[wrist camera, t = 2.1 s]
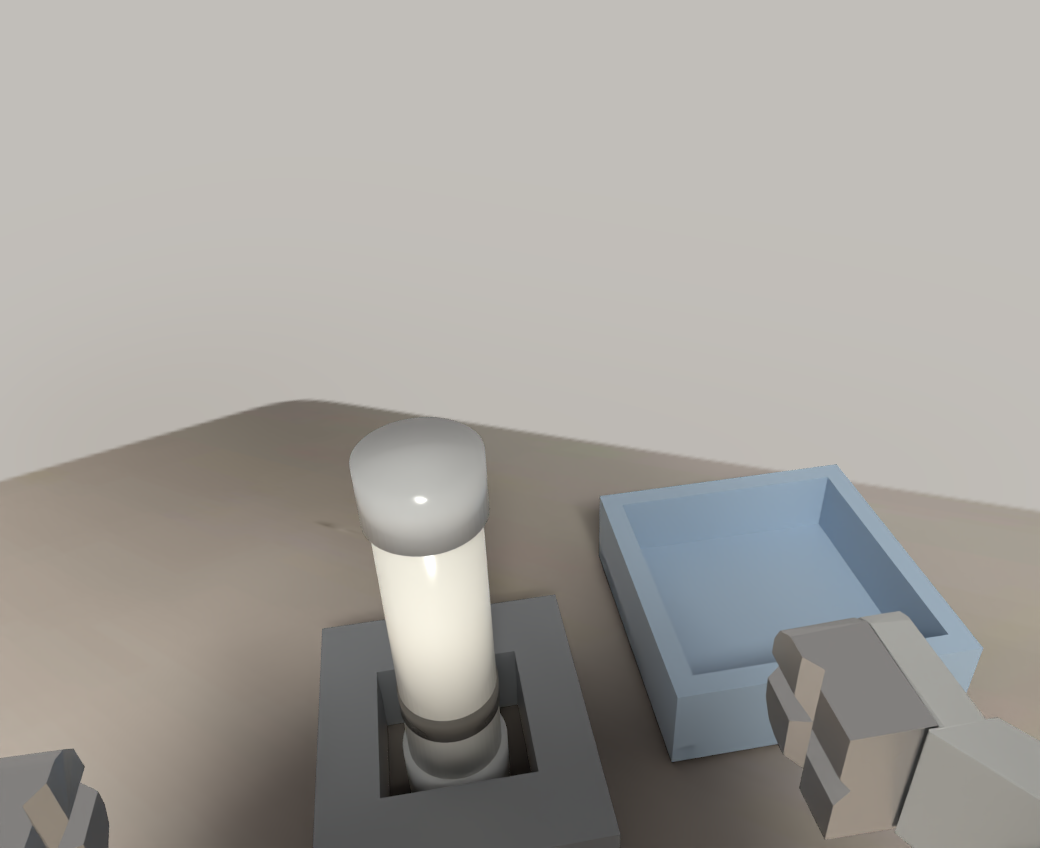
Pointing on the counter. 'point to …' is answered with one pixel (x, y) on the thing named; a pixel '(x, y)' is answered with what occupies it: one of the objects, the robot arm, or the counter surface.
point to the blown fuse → (435, 594)
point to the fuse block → (474, 806)
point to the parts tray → (753, 592)
